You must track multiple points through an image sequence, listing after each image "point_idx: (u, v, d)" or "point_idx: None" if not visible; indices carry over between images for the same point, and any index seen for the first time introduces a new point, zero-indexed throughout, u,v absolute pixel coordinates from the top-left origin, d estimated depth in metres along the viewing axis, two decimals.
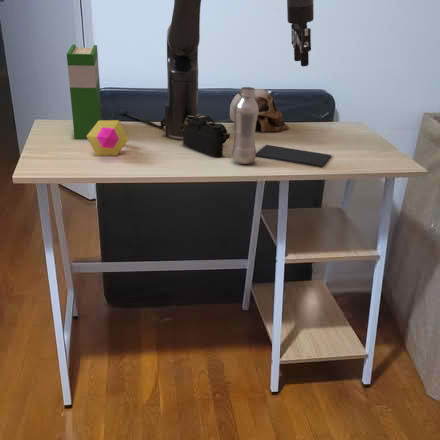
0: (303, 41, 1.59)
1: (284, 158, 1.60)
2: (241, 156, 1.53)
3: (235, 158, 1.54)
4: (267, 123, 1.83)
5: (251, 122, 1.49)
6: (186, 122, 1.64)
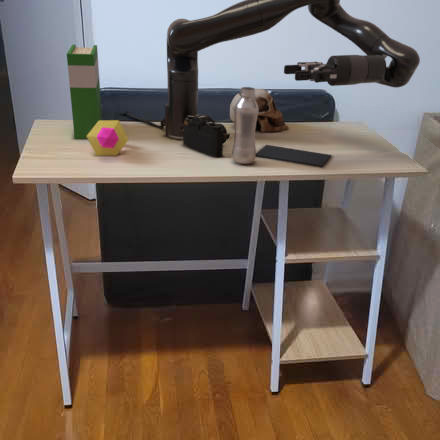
0: (326, 73, 1.42)
1: (284, 158, 1.60)
2: (241, 156, 1.53)
3: (235, 158, 1.54)
4: (267, 123, 1.83)
5: (251, 122, 1.49)
6: (186, 122, 1.64)
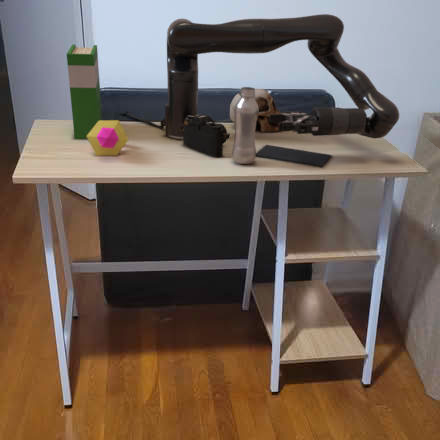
0: (308, 125, 1.48)
1: (284, 158, 1.60)
2: (241, 156, 1.53)
3: (235, 158, 1.54)
4: (267, 123, 1.83)
5: (251, 122, 1.49)
6: (186, 122, 1.64)
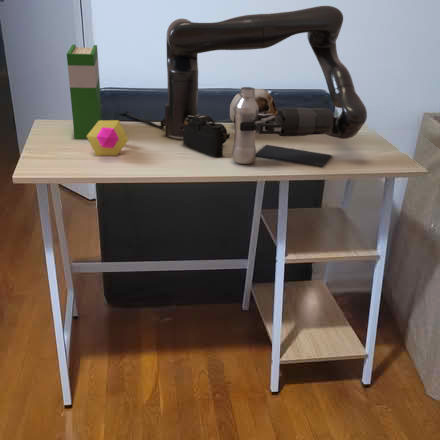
0: (269, 125, 1.46)
1: (284, 158, 1.60)
2: (241, 156, 1.53)
3: (235, 158, 1.54)
4: None
5: None
6: (186, 122, 1.64)
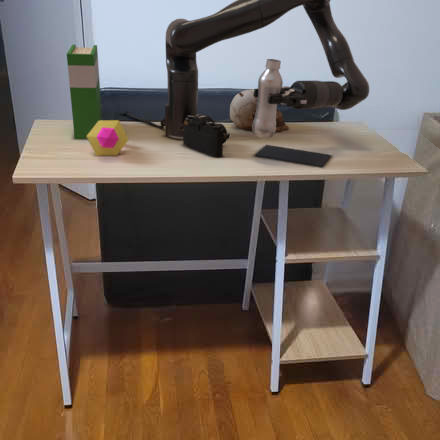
0: (297, 98, 1.47)
1: (284, 158, 1.60)
2: (265, 129, 1.51)
3: (258, 132, 1.52)
4: None
5: (277, 94, 1.48)
6: (186, 122, 1.64)
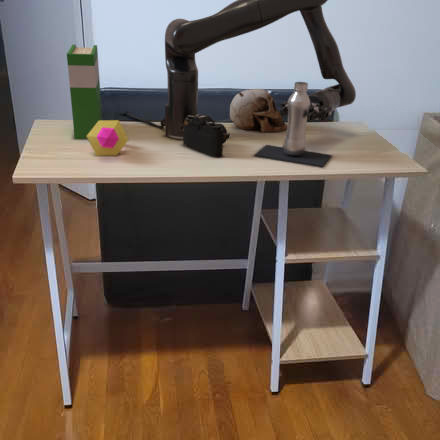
0: (328, 111, 1.58)
1: (284, 158, 1.60)
2: (300, 148, 1.60)
3: (294, 151, 1.60)
4: (267, 123, 1.83)
5: (307, 114, 1.56)
6: (186, 122, 1.64)
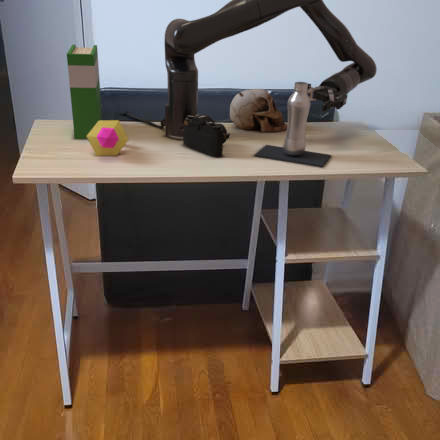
0: (343, 99, 1.65)
1: (284, 158, 1.60)
2: (300, 148, 1.60)
3: (294, 151, 1.60)
4: (267, 123, 1.83)
5: (307, 114, 1.56)
6: (186, 122, 1.64)
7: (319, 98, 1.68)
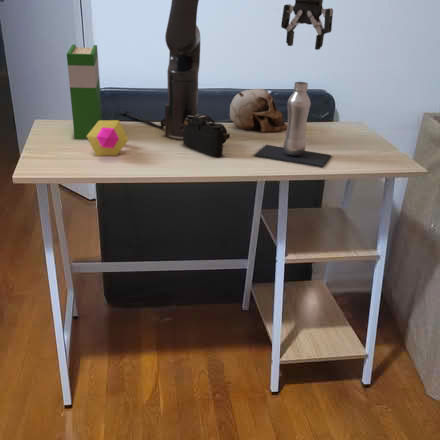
0: (329, 22, 1.51)
1: (284, 158, 1.60)
2: (300, 148, 1.60)
3: (294, 151, 1.60)
4: (267, 123, 1.83)
5: (307, 114, 1.56)
6: (186, 122, 1.64)
7: None
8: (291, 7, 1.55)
